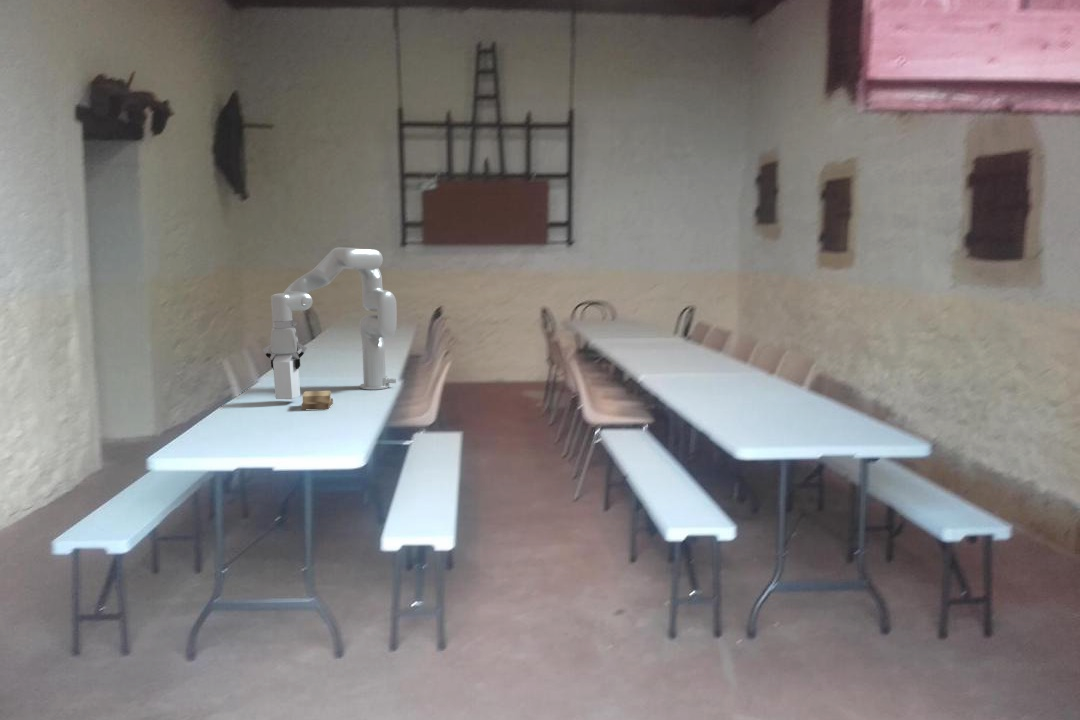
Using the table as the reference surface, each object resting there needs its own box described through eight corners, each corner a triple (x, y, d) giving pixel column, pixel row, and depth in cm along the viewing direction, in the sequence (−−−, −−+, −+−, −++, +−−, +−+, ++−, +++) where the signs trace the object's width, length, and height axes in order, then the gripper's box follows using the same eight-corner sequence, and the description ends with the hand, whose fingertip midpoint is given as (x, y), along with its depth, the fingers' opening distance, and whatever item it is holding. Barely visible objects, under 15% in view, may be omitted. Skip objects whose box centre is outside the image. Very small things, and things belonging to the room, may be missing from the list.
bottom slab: (333, 405, 347) (332, 398, 347) (328, 411, 337) (328, 403, 337) (307, 406, 347) (306, 398, 346) (301, 411, 337) (301, 404, 336)
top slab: (330, 398, 347) (330, 390, 347) (329, 403, 338) (329, 395, 337) (304, 399, 345) (304, 391, 345) (302, 404, 336) (302, 396, 335)
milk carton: (292, 399, 346) (288, 351, 343) (275, 399, 348) (272, 351, 344) (300, 395, 353) (297, 349, 350) (284, 395, 355) (280, 348, 351)
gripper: (307, 323, 350) (310, 366, 353) (262, 324, 349) (266, 367, 352) (303, 325, 342) (306, 370, 345) (257, 327, 341) (261, 371, 344)
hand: (286, 368), depth 348 cm, fingers closed on milk carton, 8 cm apart
